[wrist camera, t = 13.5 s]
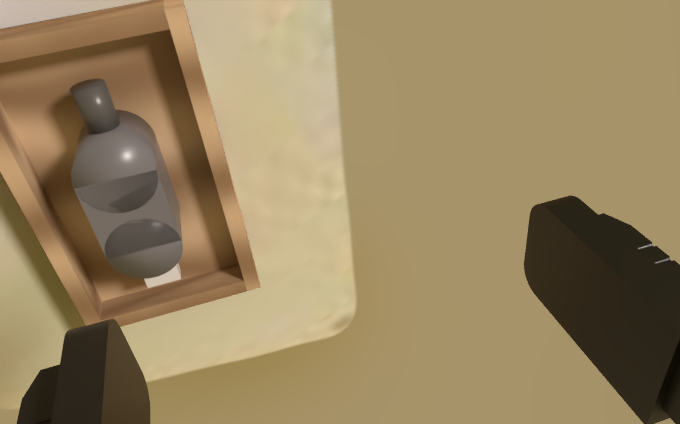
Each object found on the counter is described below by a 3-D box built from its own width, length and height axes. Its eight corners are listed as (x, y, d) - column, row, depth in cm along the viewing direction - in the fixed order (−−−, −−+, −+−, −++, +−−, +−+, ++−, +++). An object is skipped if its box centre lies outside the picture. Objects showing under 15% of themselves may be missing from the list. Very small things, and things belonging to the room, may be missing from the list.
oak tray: (-50, 38, 29) (-66, 54, 27) (181, -6, 31) (183, 5, 29) (93, 309, 40) (90, 334, 38) (255, 265, 42) (260, 287, 40)
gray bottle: (50, 79, 31) (37, 111, 27) (130, 63, 31) (128, 91, 28) (131, 266, 39) (130, 309, 35) (195, 250, 39) (199, 290, 36)
